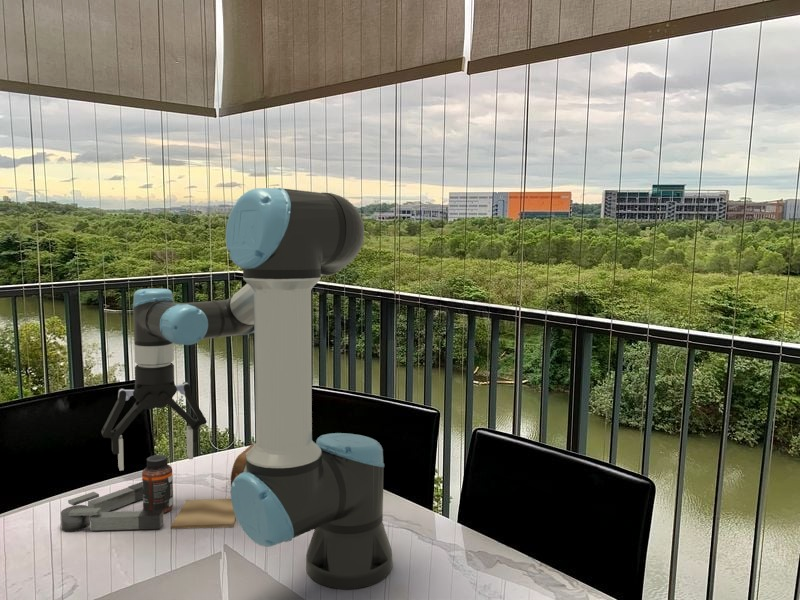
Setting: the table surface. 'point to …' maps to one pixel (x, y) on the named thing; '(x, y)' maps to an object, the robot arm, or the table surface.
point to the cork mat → (205, 514)
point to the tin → (239, 464)
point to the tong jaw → (111, 498)
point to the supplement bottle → (157, 484)
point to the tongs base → (109, 519)
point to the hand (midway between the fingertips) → (156, 462)
